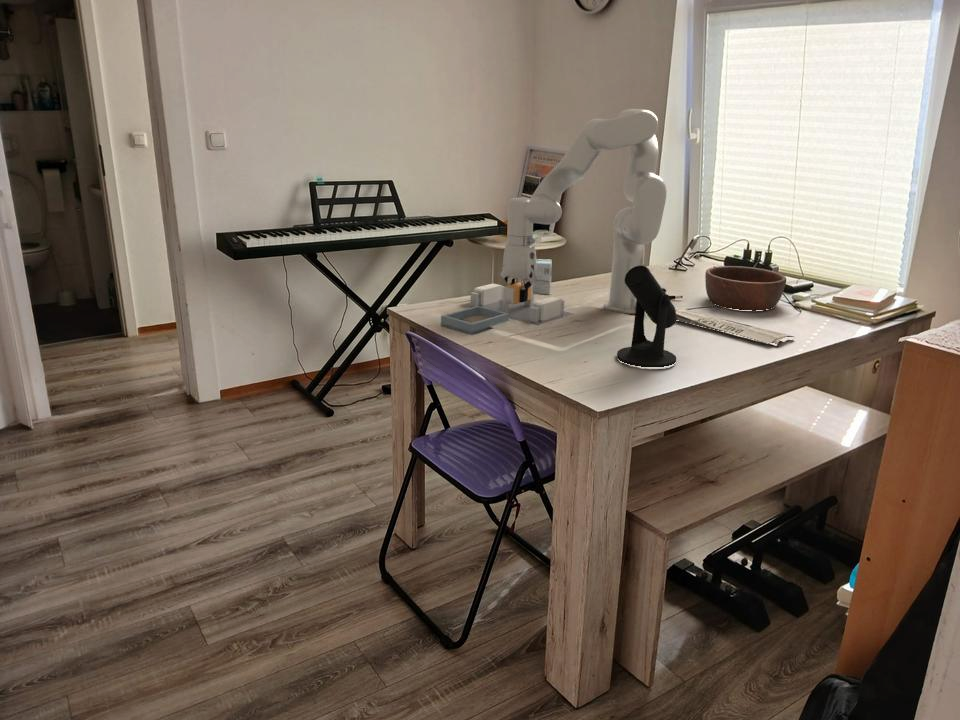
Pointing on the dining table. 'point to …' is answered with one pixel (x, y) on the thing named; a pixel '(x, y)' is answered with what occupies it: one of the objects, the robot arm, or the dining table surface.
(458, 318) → the tray
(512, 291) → the marked fuse
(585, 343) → the dining table surface
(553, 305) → the block
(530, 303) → the fuse block
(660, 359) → the microphone
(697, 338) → the dining table surface
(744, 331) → the newspaper
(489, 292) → the block
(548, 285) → the light bulb box
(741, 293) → the wooden bowl
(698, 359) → the dining table surface
